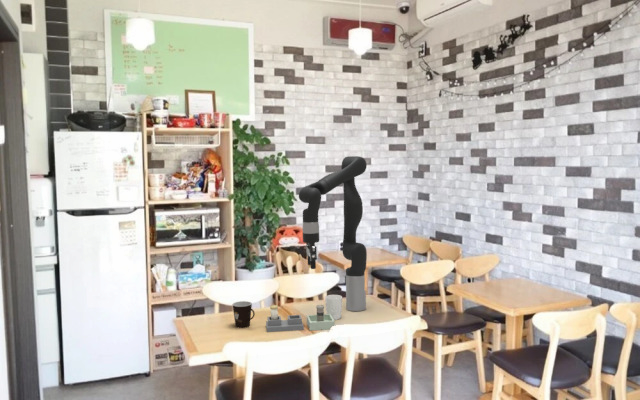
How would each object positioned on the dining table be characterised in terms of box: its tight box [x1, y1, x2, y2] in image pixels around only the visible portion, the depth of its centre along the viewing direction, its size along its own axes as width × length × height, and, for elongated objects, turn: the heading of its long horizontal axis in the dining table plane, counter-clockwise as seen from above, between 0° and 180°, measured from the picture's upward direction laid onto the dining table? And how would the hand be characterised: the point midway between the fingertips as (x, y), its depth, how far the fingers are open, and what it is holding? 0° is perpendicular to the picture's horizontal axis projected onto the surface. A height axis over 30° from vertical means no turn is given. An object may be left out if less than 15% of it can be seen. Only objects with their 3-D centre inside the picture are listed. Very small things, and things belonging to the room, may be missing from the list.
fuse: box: [269, 304, 279, 320], centre depth 231 cm, size 3×3×8 cm
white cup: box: [324, 294, 343, 321], centre depth 245 cm, size 8×8×10 cm
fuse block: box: [265, 314, 305, 333], centre depth 232 cm, size 16×9×4 cm, turn 99°
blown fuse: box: [315, 304, 325, 322], centre depth 234 cm, size 3×3×8 cm
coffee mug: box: [232, 300, 256, 329], centre depth 234 cm, size 12×9×10 cm
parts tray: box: [306, 313, 336, 331], centre depth 234 cm, size 11×11×4 cm
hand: (311, 266), depth 238 cm, fingers open, 8 cm apart
